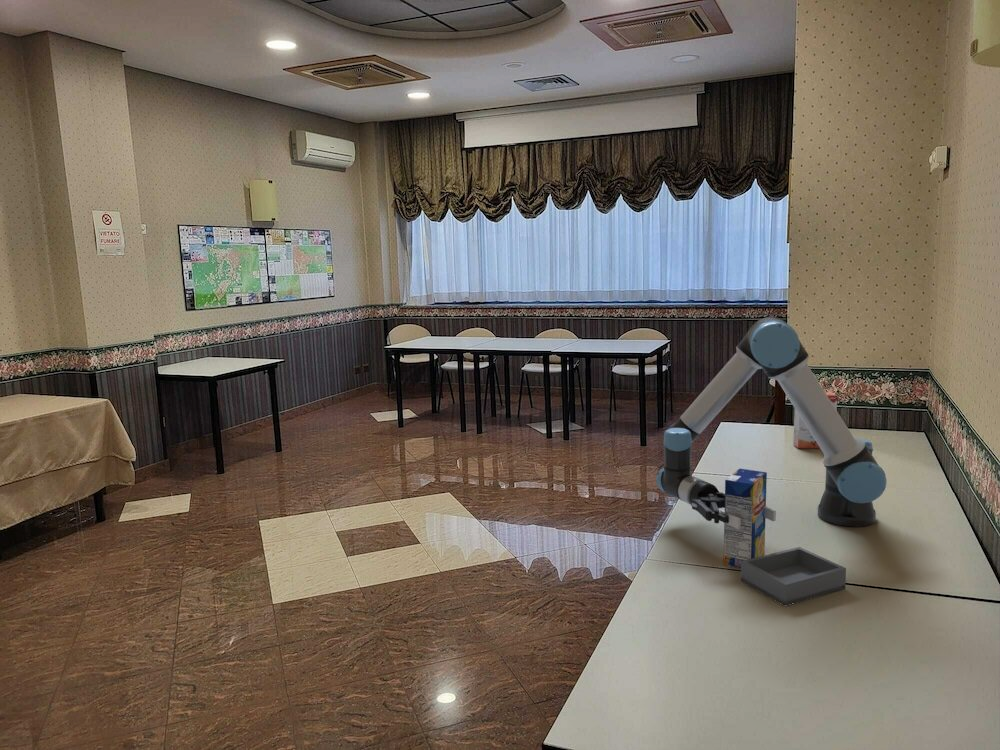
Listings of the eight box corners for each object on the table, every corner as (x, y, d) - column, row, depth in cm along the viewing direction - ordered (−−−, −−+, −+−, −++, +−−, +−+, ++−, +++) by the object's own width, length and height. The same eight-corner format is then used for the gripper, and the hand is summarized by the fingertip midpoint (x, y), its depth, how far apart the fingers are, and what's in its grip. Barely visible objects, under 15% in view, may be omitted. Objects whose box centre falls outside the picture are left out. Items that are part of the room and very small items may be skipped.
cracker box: (798, 449, 283) (800, 395, 280) (792, 445, 289) (794, 392, 286) (835, 448, 283) (838, 394, 279) (829, 444, 289) (831, 391, 285)
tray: (798, 566, 183) (799, 546, 182) (845, 588, 171) (846, 568, 170) (740, 581, 176) (741, 561, 175) (784, 606, 164) (785, 584, 163)
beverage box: (723, 564, 186) (725, 479, 182) (737, 549, 194) (739, 468, 191) (751, 570, 182) (753, 484, 178) (764, 554, 190) (766, 472, 187)
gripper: (732, 500, 207) (792, 526, 187) (664, 514, 198) (719, 543, 178) (732, 474, 206) (793, 497, 186) (664, 487, 197) (720, 513, 177)
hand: (757, 519), depth 182 cm, fingers closed on beverage box, 10 cm apart
